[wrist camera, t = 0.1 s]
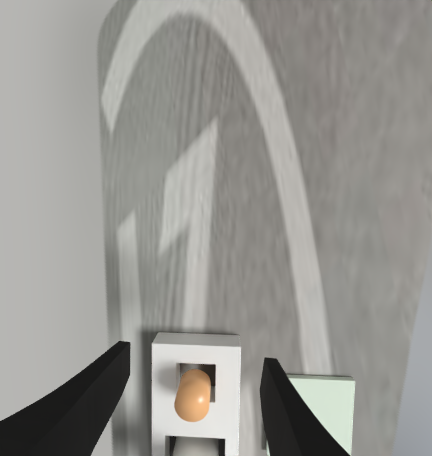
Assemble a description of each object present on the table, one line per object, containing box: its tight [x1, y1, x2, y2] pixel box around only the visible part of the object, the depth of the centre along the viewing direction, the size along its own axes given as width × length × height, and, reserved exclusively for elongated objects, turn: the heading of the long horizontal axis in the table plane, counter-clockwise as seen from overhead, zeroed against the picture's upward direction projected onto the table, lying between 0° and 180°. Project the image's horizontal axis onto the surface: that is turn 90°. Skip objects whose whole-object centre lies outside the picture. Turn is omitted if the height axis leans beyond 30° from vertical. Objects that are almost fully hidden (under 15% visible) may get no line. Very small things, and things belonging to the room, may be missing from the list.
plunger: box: [174, 369, 211, 422], centre depth 19 cm, size 3×3×2 cm
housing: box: [152, 332, 241, 456], centre depth 22 cm, size 16×8×2 cm, turn 179°
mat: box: [266, 374, 355, 456], centre depth 22 cm, size 8×8×1 cm
